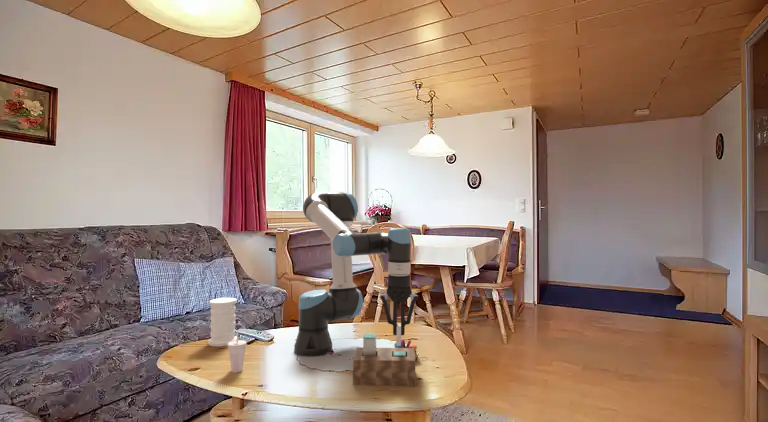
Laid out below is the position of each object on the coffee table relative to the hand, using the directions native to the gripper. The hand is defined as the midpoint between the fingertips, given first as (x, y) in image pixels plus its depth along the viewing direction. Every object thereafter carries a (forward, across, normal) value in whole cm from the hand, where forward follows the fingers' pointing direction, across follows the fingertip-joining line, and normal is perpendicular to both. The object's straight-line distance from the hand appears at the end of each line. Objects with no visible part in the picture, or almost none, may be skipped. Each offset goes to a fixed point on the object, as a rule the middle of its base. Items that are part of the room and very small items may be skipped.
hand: (398, 344), depth 132 cm
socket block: (+11, -5, 0) cm, 12 cm away
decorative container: (+13, -76, +34) cm, 84 cm away
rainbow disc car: (+12, +2, +17) cm, 21 cm away
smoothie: (+12, -57, +4) cm, 58 cm away
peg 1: (+5, -10, 0) cm, 11 cm away
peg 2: (+11, 0, 0) cm, 11 cm away
